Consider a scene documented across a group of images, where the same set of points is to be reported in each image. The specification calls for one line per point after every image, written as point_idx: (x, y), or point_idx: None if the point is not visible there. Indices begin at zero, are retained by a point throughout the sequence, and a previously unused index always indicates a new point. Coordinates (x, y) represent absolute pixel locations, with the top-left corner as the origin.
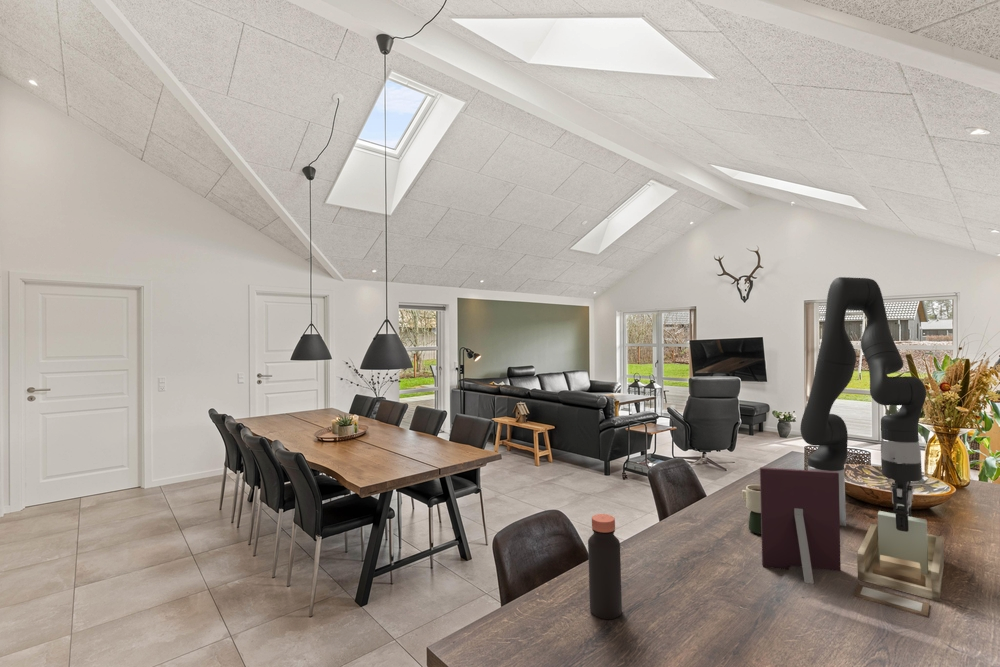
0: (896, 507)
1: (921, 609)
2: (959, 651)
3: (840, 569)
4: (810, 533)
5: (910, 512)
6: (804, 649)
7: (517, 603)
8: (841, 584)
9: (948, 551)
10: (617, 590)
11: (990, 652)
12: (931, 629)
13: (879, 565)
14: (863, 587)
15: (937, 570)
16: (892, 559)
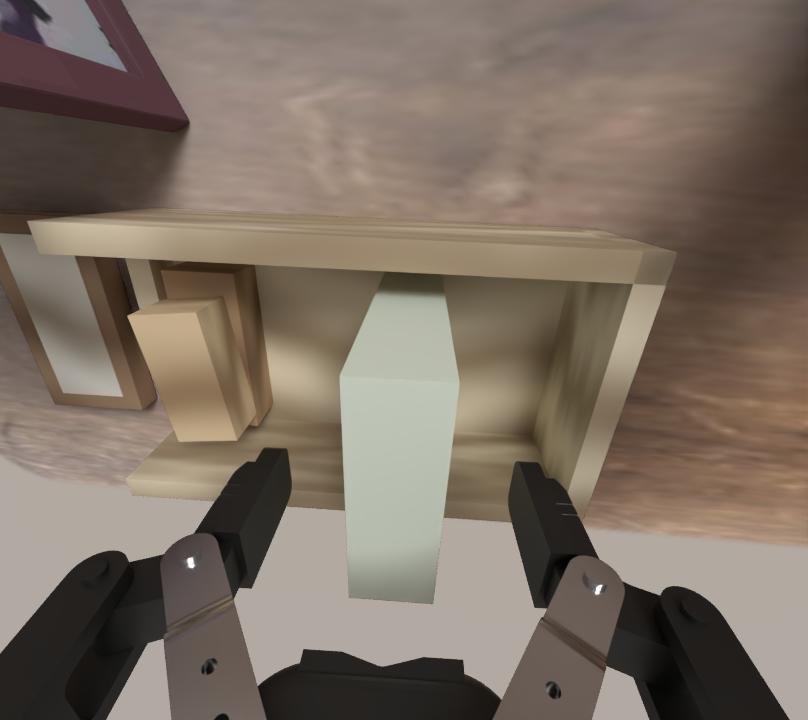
0: (103, 621)
1: (75, 393)
2: (4, 438)
3: (152, 128)
4: None
5: (522, 557)
6: None
7: None
8: (94, 147)
9: (704, 456)
10: None
11: (64, 481)
12: (50, 398)
13: (220, 293)
14: None
15: (155, 493)
16: (184, 359)
